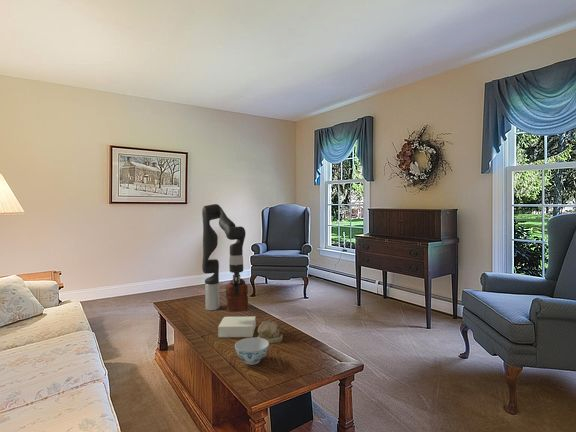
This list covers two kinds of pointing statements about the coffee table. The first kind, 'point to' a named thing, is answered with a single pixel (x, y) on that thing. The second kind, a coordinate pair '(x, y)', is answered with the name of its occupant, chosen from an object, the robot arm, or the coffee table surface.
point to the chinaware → (252, 349)
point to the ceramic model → (270, 332)
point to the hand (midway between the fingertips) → (236, 293)
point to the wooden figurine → (237, 297)
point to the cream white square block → (237, 327)
